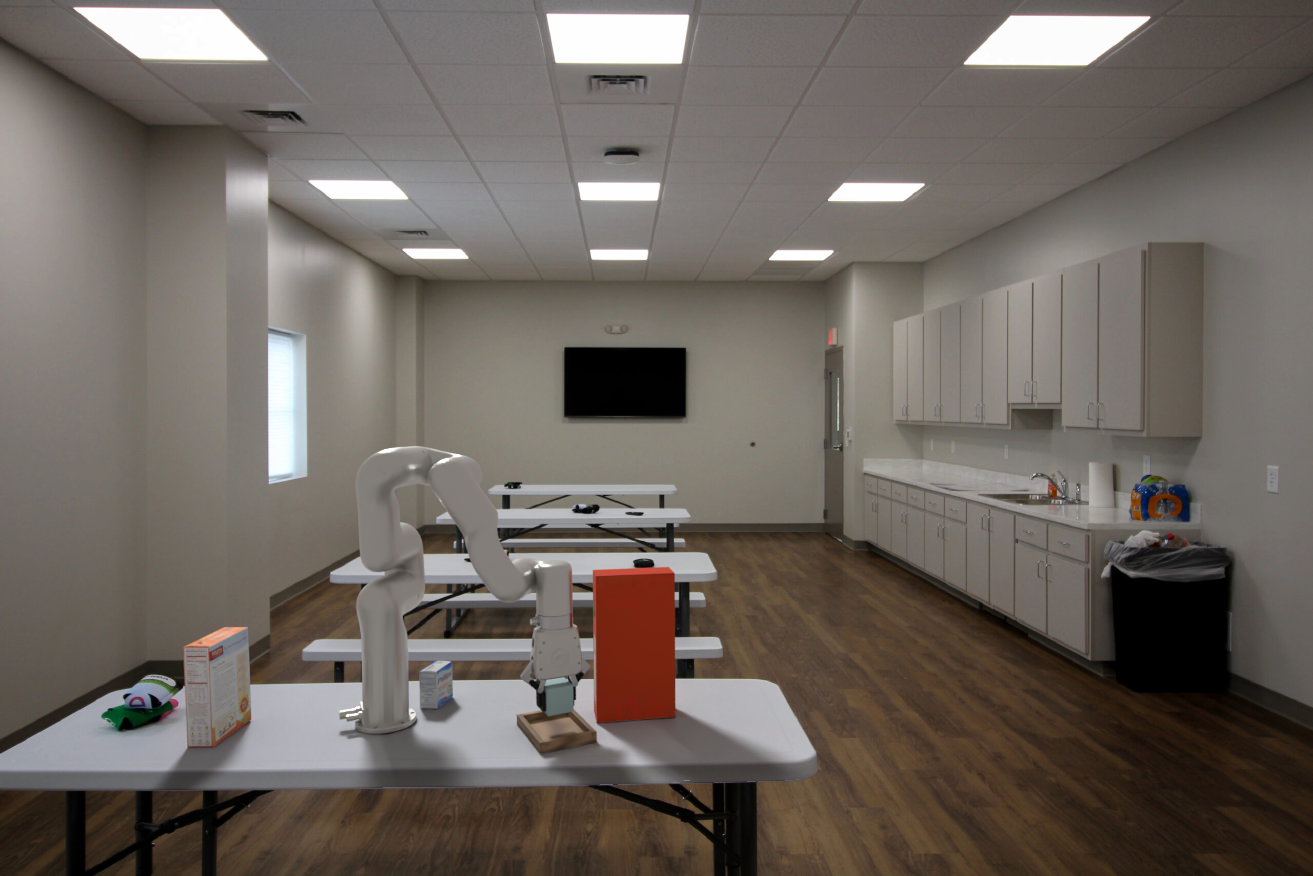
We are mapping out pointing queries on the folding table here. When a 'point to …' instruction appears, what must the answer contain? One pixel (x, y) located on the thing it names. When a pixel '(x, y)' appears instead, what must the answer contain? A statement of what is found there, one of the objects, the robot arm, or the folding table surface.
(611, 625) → the tall orange-red block
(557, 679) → the teal cube
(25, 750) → the folding table surface
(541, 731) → the walnut tray
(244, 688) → the cracker box
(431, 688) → the medicine box
